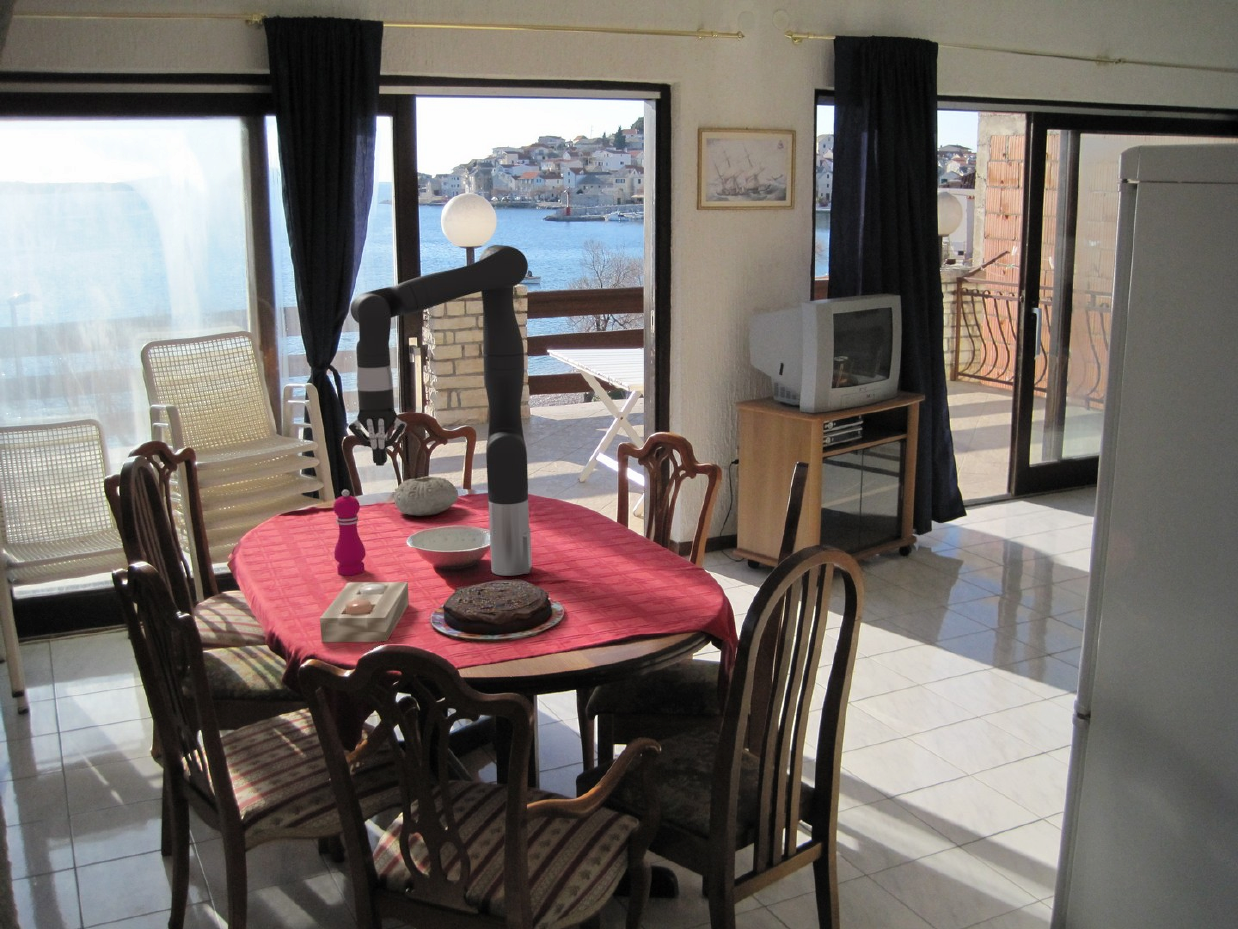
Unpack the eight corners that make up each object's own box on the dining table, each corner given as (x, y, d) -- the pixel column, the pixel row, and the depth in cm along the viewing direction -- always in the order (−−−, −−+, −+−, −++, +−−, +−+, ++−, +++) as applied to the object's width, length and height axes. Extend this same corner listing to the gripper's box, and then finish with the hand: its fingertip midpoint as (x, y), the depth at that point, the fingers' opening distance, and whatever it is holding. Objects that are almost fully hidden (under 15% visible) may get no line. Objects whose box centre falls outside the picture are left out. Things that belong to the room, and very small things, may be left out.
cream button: (387, 599, 251) (386, 584, 250) (382, 607, 246) (381, 591, 245) (364, 599, 251) (363, 584, 251) (358, 607, 246) (357, 591, 246)
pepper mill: (359, 577, 273) (353, 494, 268) (330, 575, 274) (324, 493, 270) (371, 567, 280) (366, 486, 275) (343, 566, 281) (337, 485, 277)
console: (409, 604, 254) (407, 582, 253) (386, 641, 232) (384, 617, 231) (349, 604, 254) (348, 582, 253) (321, 642, 233) (319, 618, 232)
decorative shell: (397, 506, 336) (395, 472, 334) (459, 503, 338) (458, 469, 336) (392, 522, 319) (390, 487, 316) (458, 519, 321) (456, 484, 318)
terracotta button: (374, 615, 239) (373, 599, 239) (368, 624, 234) (367, 608, 234) (350, 615, 239) (349, 600, 239) (343, 624, 235) (342, 608, 234)
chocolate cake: (453, 654, 226) (451, 622, 225) (414, 610, 251) (412, 581, 250) (585, 629, 238) (585, 599, 236) (536, 590, 263) (535, 562, 261)
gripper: (409, 383, 256) (413, 460, 260) (349, 384, 256) (354, 461, 260) (402, 389, 249) (406, 468, 253) (340, 390, 249) (346, 469, 253)
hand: (380, 464), depth 256 cm, fingers closed
